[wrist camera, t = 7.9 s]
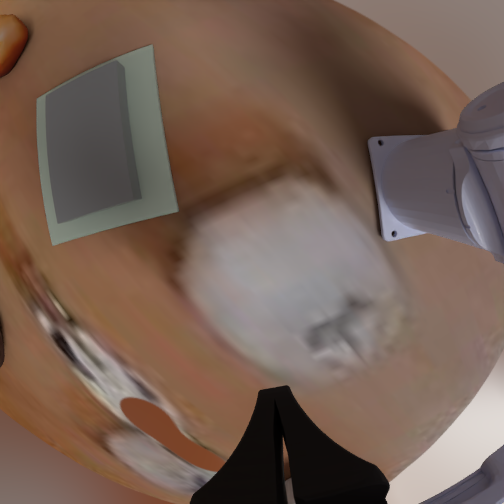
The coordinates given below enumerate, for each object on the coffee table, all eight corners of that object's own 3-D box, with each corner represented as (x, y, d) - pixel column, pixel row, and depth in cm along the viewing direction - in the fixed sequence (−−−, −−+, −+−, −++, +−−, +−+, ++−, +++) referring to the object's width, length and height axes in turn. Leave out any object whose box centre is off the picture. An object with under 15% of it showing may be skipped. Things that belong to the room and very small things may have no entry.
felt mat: (153, 46, 17) (151, 44, 16) (179, 211, 19) (177, 211, 19) (39, 99, 17) (36, 98, 16) (55, 244, 20) (52, 245, 19)
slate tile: (116, 59, 15) (45, 95, 15) (133, 199, 17) (57, 223, 17) (125, 68, 17) (56, 100, 17) (142, 199, 19) (69, 221, 19)
